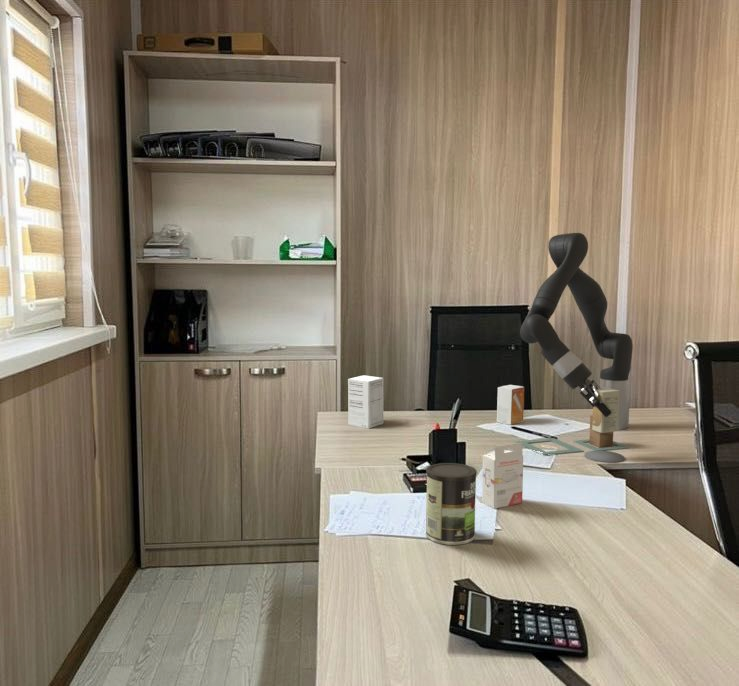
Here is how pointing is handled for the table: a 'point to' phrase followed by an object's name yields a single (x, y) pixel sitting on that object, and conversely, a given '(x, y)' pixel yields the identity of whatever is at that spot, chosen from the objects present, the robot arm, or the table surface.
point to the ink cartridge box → (503, 476)
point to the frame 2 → (618, 446)
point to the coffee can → (450, 503)
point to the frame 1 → (571, 448)
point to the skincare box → (612, 402)
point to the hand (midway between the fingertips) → (610, 412)
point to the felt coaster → (604, 456)
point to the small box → (510, 404)
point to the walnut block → (600, 437)
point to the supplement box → (365, 401)
